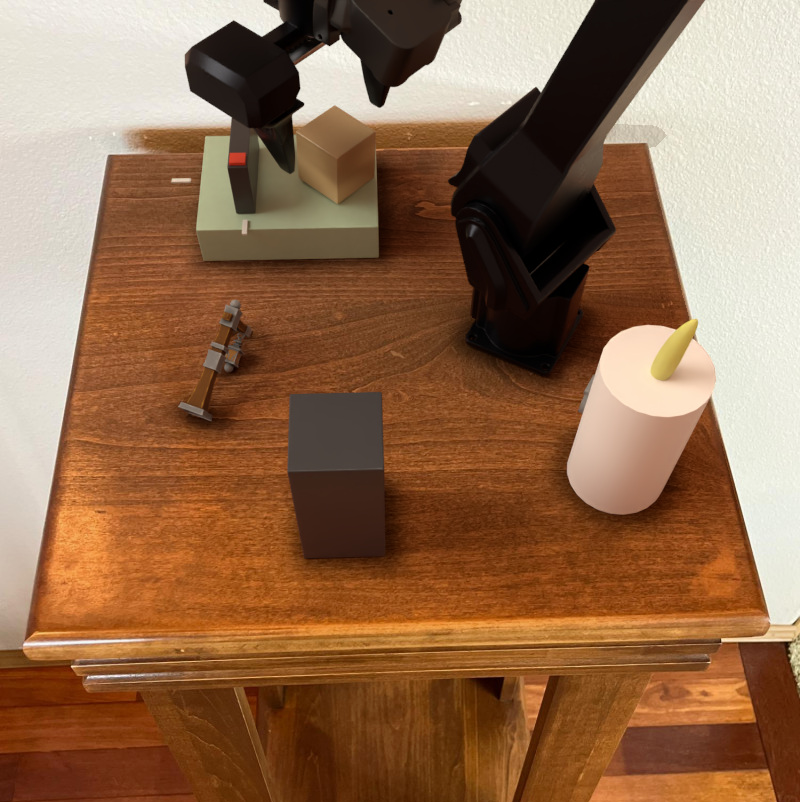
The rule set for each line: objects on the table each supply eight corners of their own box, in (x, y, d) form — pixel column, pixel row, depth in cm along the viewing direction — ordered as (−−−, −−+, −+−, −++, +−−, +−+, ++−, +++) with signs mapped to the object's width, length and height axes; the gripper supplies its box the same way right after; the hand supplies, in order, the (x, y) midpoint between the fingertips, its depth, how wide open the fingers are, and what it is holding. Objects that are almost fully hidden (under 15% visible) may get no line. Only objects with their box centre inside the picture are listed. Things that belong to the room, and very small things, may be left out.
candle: (585, 416, 60) (639, 248, 47) (678, 455, 59) (761, 293, 46) (548, 488, 58) (594, 331, 44) (644, 530, 56) (721, 381, 43)
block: (335, 151, 68) (334, 104, 64) (374, 177, 67) (376, 131, 63) (298, 178, 66) (295, 131, 63) (337, 205, 65) (337, 158, 62)
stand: (383, 486, 58) (381, 391, 49) (385, 556, 55) (384, 469, 46) (305, 488, 57) (289, 393, 49) (303, 558, 55) (287, 471, 46)
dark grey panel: (241, 147, 68) (232, 97, 64) (259, 147, 68) (252, 97, 64) (236, 213, 65) (226, 164, 61) (255, 213, 65) (247, 164, 61)
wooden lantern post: (266, 322, 63) (245, 299, 58) (225, 429, 62) (201, 414, 58) (243, 315, 63) (220, 291, 59) (202, 421, 63) (176, 405, 58)
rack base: (375, 160, 72) (375, 125, 69) (379, 263, 67) (378, 231, 64) (186, 163, 72) (177, 129, 69) (174, 268, 66) (164, 235, 64)
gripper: (304, 31, 44) (325, 266, 58) (535, -122, 51) (505, 121, 64) (151, -56, 47) (206, 185, 61) (387, -189, 54) (388, 56, 68)
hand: (333, 136), depth 63 cm, fingers open, 9 cm apart
